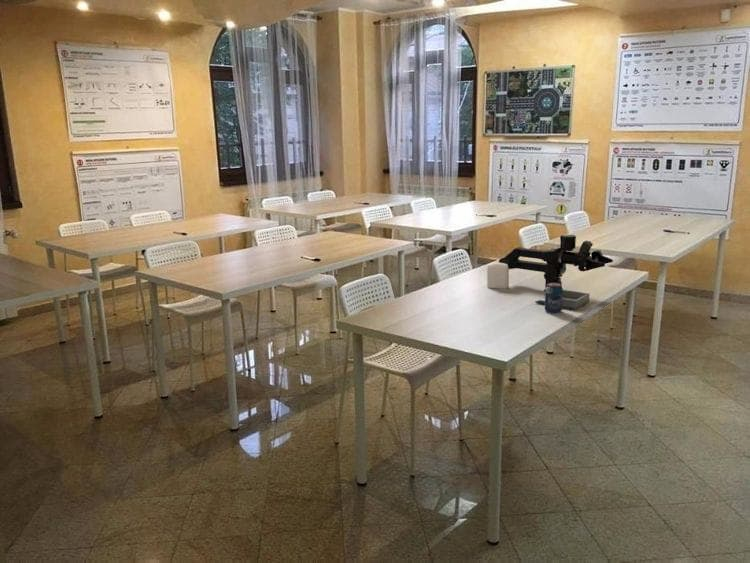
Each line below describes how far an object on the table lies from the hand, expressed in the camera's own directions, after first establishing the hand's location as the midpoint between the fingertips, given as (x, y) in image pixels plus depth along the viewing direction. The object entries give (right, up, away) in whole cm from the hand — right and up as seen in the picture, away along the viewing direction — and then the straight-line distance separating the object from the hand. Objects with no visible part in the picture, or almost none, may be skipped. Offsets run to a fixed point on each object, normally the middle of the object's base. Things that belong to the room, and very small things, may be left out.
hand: (608, 262), depth 277 cm
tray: (-18, -18, 0) cm, 26 cm away
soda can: (-27, -21, -11) cm, 36 cm away
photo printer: (-43, -11, +29) cm, 53 cm away
